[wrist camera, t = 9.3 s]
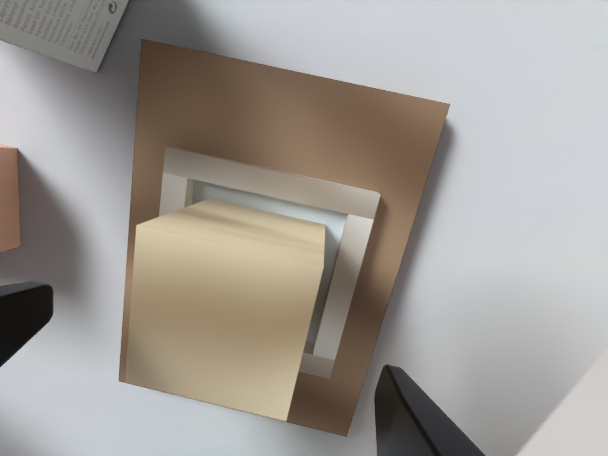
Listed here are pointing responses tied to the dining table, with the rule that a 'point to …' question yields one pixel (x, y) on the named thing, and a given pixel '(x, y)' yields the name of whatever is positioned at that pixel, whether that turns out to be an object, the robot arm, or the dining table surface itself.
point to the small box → (62, 28)
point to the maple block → (223, 304)
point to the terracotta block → (9, 199)
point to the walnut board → (291, 189)
